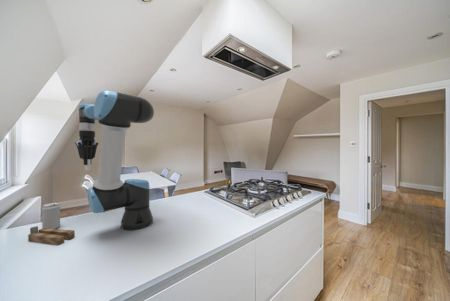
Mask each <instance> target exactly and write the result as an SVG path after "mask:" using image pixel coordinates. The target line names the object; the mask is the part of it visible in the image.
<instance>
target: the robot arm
mask: <svg viewBox="0 0 450 301" xmlns="http://www.w3.org/2000/svg"><path fill="white" fill-rule="evenodd" d="M154 115H155V109H154V107H153V105H152V103H151V102H150V101H149V100H147V99H146V98H144V97H140V96H135V95H131V94H127V93H121V92H117V91H114V90H113V91H111V90H106V89H105V90H101V91H100V92H99V93H98V95H97V97H95V100H94V103H93V104H92V103H91V104H90V103H80V104H79V105H78V129H79V131H78V135H79V136H78V137H79V140H78V141H75V142H74V144H75V145H76V147H77V152H78V156H79V159H81V160H83V165H84V171H92V167H91V165H92V160H93V159H95V157H96V152H97V148H98V145H99V142H96V139H95V137H96V132H95V131H96V123H95V122H96V121H97V122H98V124H99V125H100V127H101V129H102V130H101V140H100V151H99V161H98V172H97V179H96V180H94V181H93V183H92V186H91V187H88V188H87V191H86V195H87V201H88V205H89V208H90V210H91V212H92V213H94V214H99V213H105V212H109V211H114V210H117V209H121V208H124V213H123V214H122V218H121V221H120V228H121V229H122V230H127V231H134V230H140V229H143V228H146V227H148V226H150V225H152V224H153V223H154V216H153V215H152V214H153V213H152V211H151V208H150V183H149V181H148V180H145V179H140V178H139V179H138V178H137V179H135V178H130V179H125V180H124V181H123V180H121V174H122V165H123V159H124V158H123V156H124V148H125V141H126V133H127V132H126V131H127V130H129V129H130V128H131V124H132V123H134V124H145V123H148V122H150V121H151V120H152V119H153V118H154Z"/></svg>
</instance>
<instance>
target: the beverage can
mask: <svg viewBox="0 0 450 301" xmlns="http://www.w3.org/2000/svg"><path fill="white" fill-rule="evenodd" d="M41 226H42V227H41V229H43V228H49V229H59V227H60V226H61V205H60V203H59V202H51V203H45V204H43V205H42V208H41Z"/></svg>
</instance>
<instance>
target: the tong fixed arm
mask: <svg viewBox="0 0 450 301" xmlns="http://www.w3.org/2000/svg"><path fill="white" fill-rule="evenodd" d="M29 230H30V231H29V233H30V234H28V235H27V240H28V242H31V243H32V242H33V243H38V244H46V245H53V246H60V245H62V244H64V243H65V239H64V236H61V235H52V234H44V233H38V230H39V227H38V225H37V226H33V227H30V229H29Z"/></svg>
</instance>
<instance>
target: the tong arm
mask: <svg viewBox="0 0 450 301" xmlns="http://www.w3.org/2000/svg"><path fill="white" fill-rule="evenodd" d="M38 233H44V234H52V235H61V236H64V240H70V239H73V238H75V237H76V236H75V233H76V232H75V229H61V228H57V229H49V228H43V229H42V228H41V229H38Z"/></svg>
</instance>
